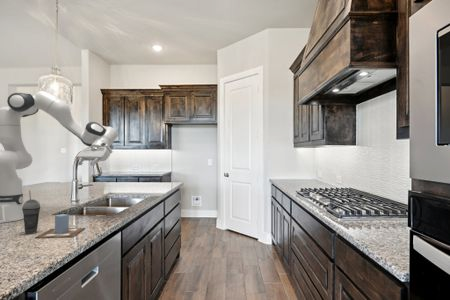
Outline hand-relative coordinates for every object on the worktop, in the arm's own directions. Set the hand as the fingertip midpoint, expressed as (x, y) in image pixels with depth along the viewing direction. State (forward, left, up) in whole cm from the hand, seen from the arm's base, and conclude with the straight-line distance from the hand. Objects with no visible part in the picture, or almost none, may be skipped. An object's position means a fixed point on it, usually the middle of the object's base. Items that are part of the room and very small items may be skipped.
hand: (85, 164), depth 156 cm
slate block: (-1, -26, -31) cm, 41 cm away
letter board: (-1, -26, -31) cm, 41 cm away
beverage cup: (-16, -23, -32) cm, 42 cm away
